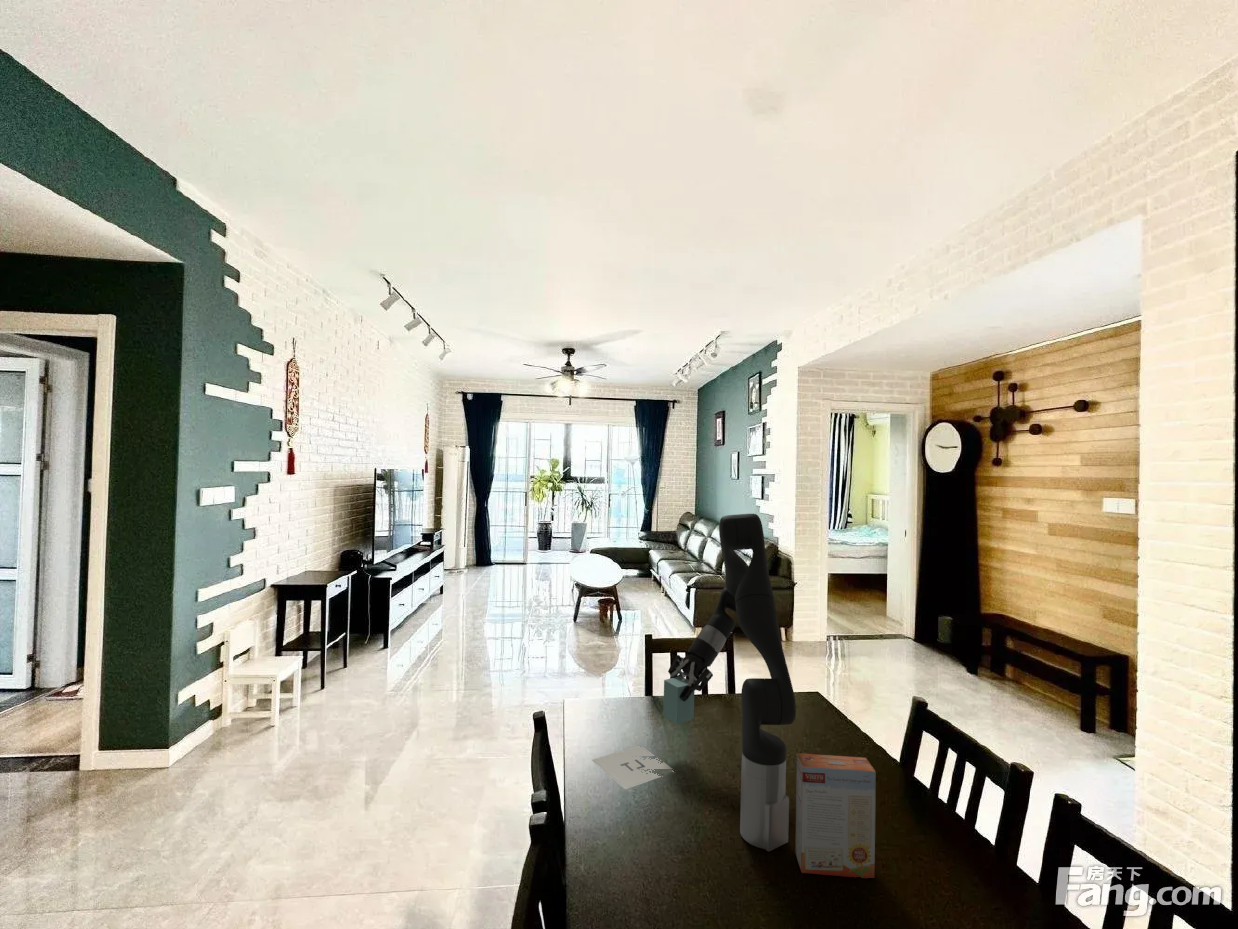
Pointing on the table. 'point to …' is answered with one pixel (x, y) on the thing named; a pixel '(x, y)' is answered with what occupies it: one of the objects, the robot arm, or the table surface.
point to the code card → (630, 766)
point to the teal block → (677, 701)
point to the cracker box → (835, 815)
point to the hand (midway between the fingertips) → (674, 695)
